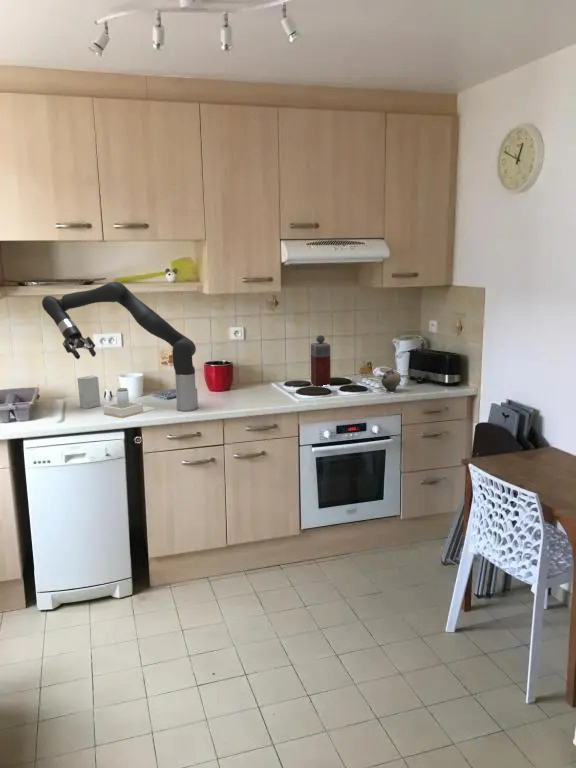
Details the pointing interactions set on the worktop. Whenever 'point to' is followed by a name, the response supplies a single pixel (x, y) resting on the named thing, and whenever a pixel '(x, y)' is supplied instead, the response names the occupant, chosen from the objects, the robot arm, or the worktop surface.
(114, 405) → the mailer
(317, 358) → the red and grey bottle
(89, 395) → the skincare box
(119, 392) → the jar
